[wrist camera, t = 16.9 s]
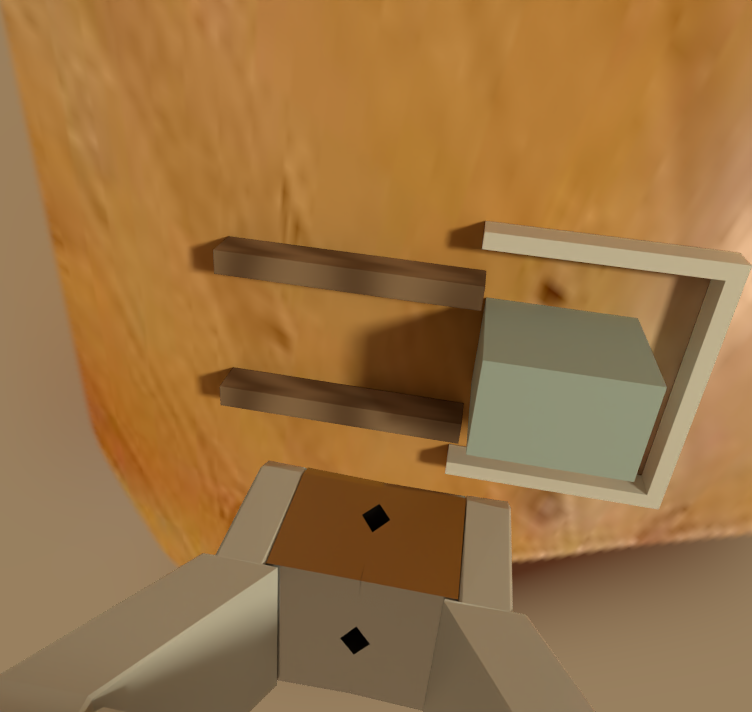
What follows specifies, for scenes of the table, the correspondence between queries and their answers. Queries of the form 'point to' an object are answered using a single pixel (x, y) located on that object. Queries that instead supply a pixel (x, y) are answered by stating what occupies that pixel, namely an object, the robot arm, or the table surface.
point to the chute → (351, 277)
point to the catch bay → (692, 375)
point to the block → (563, 390)
